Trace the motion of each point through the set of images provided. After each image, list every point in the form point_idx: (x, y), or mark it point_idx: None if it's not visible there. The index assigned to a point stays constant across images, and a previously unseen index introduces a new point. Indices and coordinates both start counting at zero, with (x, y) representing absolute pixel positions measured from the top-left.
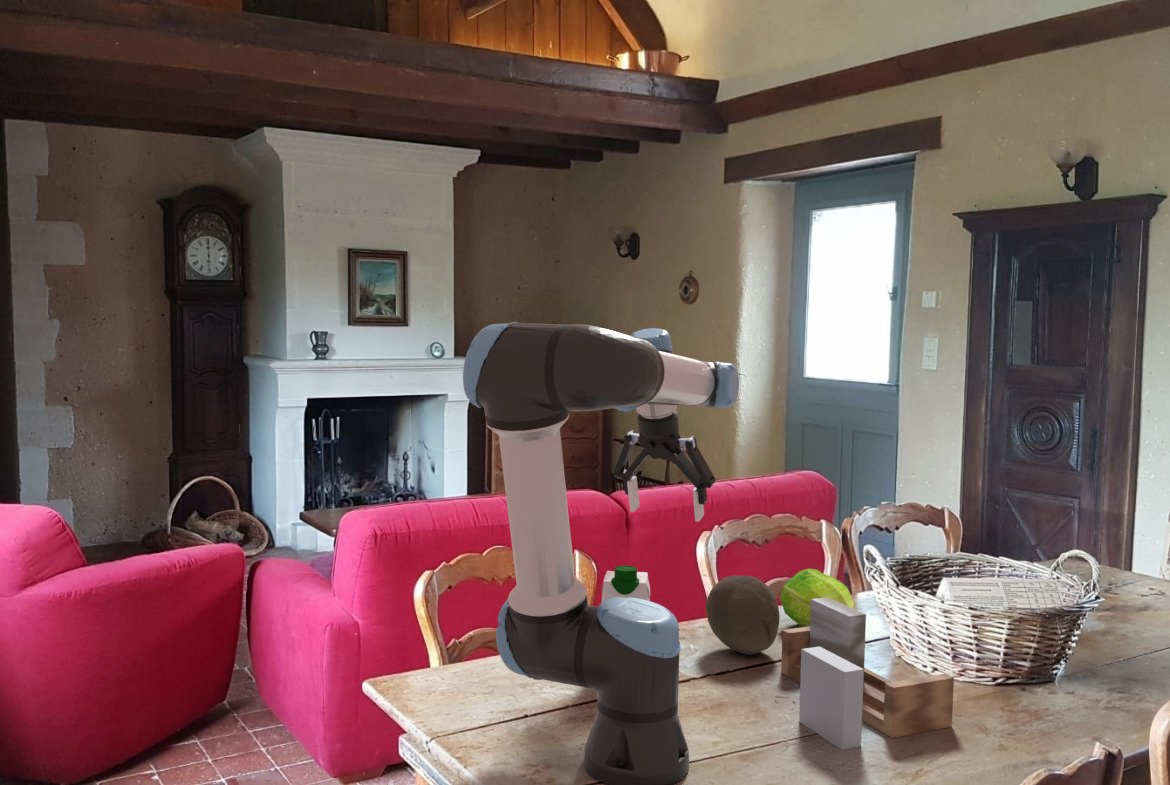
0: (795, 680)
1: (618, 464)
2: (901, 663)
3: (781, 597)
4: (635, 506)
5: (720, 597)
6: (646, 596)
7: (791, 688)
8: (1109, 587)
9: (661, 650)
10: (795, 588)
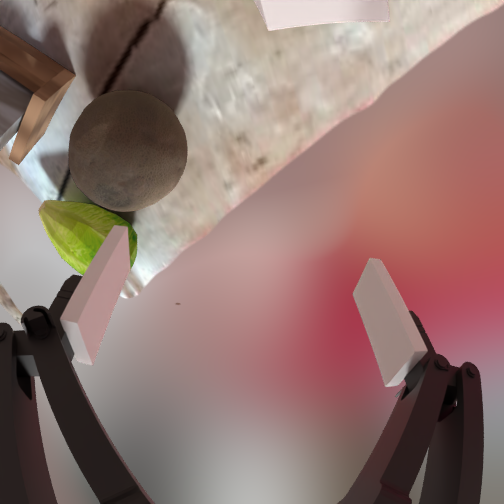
0: (52, 60)
1: (477, 413)
2: (10, 168)
3: (132, 241)
4: (367, 279)
5: (134, 127)
6: None
7: (49, 36)
8: None
9: None
10: None
